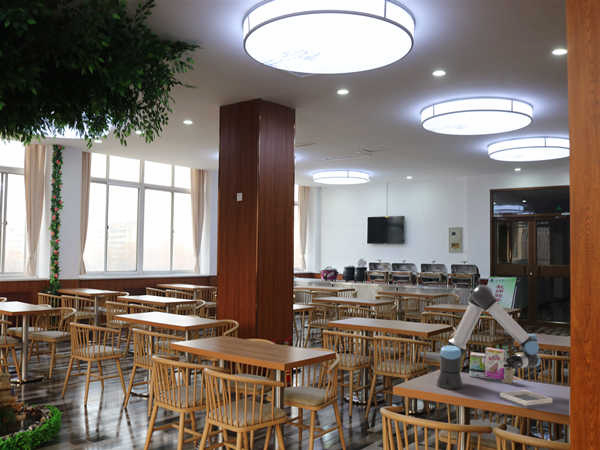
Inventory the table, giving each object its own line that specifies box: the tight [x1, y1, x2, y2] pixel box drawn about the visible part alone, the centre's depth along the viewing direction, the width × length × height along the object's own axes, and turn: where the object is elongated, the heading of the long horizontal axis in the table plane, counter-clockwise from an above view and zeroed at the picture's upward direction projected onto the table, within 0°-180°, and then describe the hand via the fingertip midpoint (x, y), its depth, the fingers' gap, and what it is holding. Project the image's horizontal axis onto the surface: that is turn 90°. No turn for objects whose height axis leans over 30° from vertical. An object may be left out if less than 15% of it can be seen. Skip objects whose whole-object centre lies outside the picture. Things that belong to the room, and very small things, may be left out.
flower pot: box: [501, 367, 516, 385], centre depth 340 cm, size 9×9×9 cm
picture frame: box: [499, 389, 553, 409], centre depth 296 cm, size 18×20×4 cm
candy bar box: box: [484, 347, 508, 381], centre depth 309 cm, size 11×5×16 cm, turn 57°
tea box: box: [469, 351, 494, 380], centre depth 354 cm, size 15×10×15 cm, turn 73°
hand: (490, 363), depth 307 cm, fingers closed on candy bar box, 12 cm apart
